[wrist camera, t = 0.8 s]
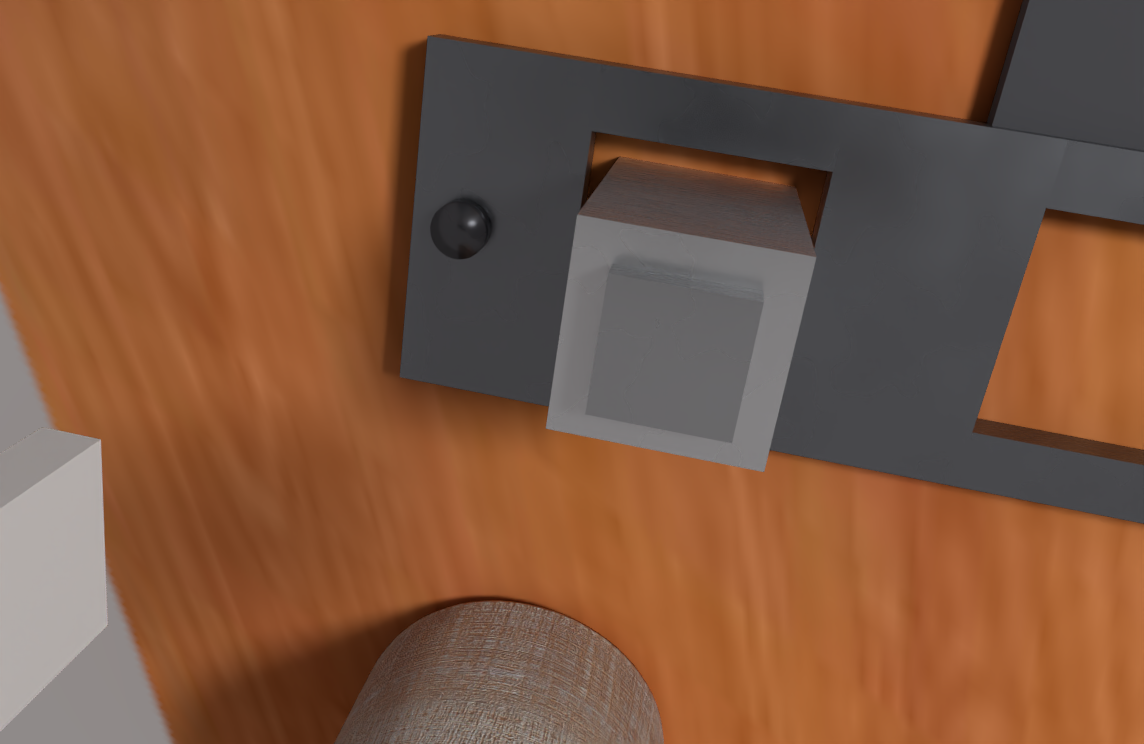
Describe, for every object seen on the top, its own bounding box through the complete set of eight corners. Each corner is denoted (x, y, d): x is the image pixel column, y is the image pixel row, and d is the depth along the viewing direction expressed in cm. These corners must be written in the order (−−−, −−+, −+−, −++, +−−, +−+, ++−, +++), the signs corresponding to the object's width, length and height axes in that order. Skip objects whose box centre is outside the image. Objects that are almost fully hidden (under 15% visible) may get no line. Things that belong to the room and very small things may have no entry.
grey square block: (619, 156, 28) (571, 222, 20) (795, 186, 27) (819, 267, 19) (593, 321, 30) (539, 443, 22) (757, 351, 29) (764, 488, 21)
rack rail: (440, 34, 27) (421, 36, 26) (1509, 208, 25) (1565, 223, 23) (411, 363, 31) (393, 384, 30) (1338, 544, 29) (1375, 578, 27)
